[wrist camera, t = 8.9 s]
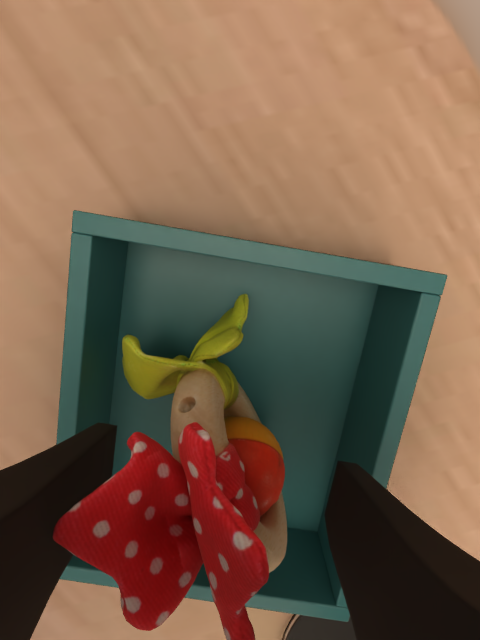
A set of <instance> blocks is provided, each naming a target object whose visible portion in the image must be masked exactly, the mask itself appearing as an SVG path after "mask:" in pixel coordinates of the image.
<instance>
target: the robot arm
mask: <svg viewBox="0 0 480 640" xmlns="http://www.w3.org/2000/svg"><path fill="white" fill-rule="evenodd" d="M116 434H117V425H111V424H105V423H96V424H94V425H92V426H90V427H89V428H87V429H85V430H83V431H81V432H79V433H78V434H76V435H74V436H72V437H70V438H68V439H66V440H65V441H63V442H61V443H59V444H57V445H55V446H53V447H51V448H49V449H47V450H45V451H43V452H41V453H39V454H37V455H35V456H33V457H30V458H28V459H26V460H24V461H22V462H20V463H17V464H15V465H13V466H10V467H8V468H5V469H3V470H0V640H30V638H31V636H32V634H33V632H34V629H35V627H36V625H37V623H38V621H39V619H40V617H41V615H42V612H43V610H44V608H45V606H46V604H47V602H48V600H49V598H50V595H51V594H52V592H53V590H54V588H55V586H56V584H57V582H58V580H59V579H60V577H61V575H62V573H63V572H64V570H65V568H66V567H67V565H68V563H69V561H70V560H71V558H72V556H73V554H72V553H71V552H69V551H68V550H67V549H66V548H64V547H63V546H61V545H60V544H58V543H57V542H55V541H54V540H53V532H54V528H55V525H56V524H57V522H58V520H59V519H60V518H61V517H62V516H63V515H64V514H65V513H66V512H68V511H69V510H70V509H71V508H72V507H73V506H74V505H75V504H77V503H78V502H79V501H81V500H82V499H83V498H85V497H86V496H88V495H89V494H91V493H92V492H93V491H95V490H96V489H97V488H98V487H99V486H101V485H102V484H103V483H105V482H106V481H107V480H108V479H110V478H111V477H112V470H113V461H114V452H115V443H116ZM324 516H325V522H326V529H327V535H328V541H329V546H330V550H331V553H332V557H333V560H334V564H335V567H336V571H337V574H338V577H339V581H340V584H341V587H342V590H343V594H344V597H345V600H346V604H347V607H348V610H349V614H350V617H351V620H352V624H353V628H354V632H355V636H356V639H357V640H480V561H478V560H477V559H475V558H474V557H472V556H471V555H469V554H468V553H466V552H465V551H463V550H462V549H460V548H459V547H458V546H456V545H455V544H453V543H452V542H450V541H449V540H448V539H446V538H445V537H443V536H442V535H441V534H439V533H438V532H437V531H435V530H434V529H433V528H431V527H430V526H429V525H428V524H426V523H425V522H424V521H423V520H422V519H420V518H419V517H418V516H417V515H415V514H414V513H413V512H412V511H411V510H409V509H408V508H407V507H406V506H405V505H403V504H402V503H401V502H400V501H399V500H398V499H397V498H396V497H394V496H393V495H392V494H391V493H390V492H389V491H388V490H387V489H385V488H384V487H383V486H382V485H381V484H380V483H379V482H378V481H377V480H376V479H374V478H373V477H372V476H371V475H370V474H369V473H368V472H366V471H365V470H364V469H363V468H362V467H360V466H359V465H358V464H356V463H351V462H345V461H338V462H337V466H336V470H335V474H334V478H333V482H332V486H331V490H330V494H329V498H328V502H327V506H326V510H325V514H324Z"/></svg>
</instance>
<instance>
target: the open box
mask: <svg viewBox="0 0 480 640" xmlns="http://www.w3.org/2000/svg"><path fill="white" fill-rule="evenodd" d="M72 232H73V233H72V236H71V250H70V264H69V278H68V291H67V305H66V319H65V333H64V346H63V360H62V374H61V388H60V401H59V415H58V429H57V443H56V445H57V444H59V443H61V442H63V441H65V440H66V439H68V438H70V437H72V436H74V435H76V434H78V433H79V432H81V431H83V430H85V429H87V428H89V427H90V426H92V425H94V424H96V423H105V424H111V425H117V434H116V443H115V452H114V461H113V470H112V476H113V475H115V474H116V473H117V472H119V471H120V470H121V469H122V468H124V466H125V465H126V464H127V463H128V462H129V461H130V459H131V450H130V449H129V447H128V445H127V440H128V438H129V437H130V436H131V435H132V434H133V433H135V432H141V433H143V434H145V435H147V436H148V437H150V438H151V439H153V440H155V441H157V442H158V443H159V444H160V445H161V446H163V447H164V448H165V449H166V450H167V451H168V452H169V453H170V454H171V455H172V456H173V453H172V446H171V409H172V401H173V397H174V393H175V392H174V393H172V394H168V395H165V396H162V397H158V398H154V399H145V398H144V397H142V396H140V395H139V394H138V393H136V392H135V391H134V390H133V389H132V388H131V386H130V385H129V383H128V381H127V379H126V377H125V375H124V369H123V363H122V359H123V351H122V339H123V337H124V336H126V335H132V336H135V337H136V338H137V339H138V340H139V342H140V348H141V350H142V352H144V353H145V354H146V355H151V356H157V357H164V358H169V359H173V358H174V357H176V356H178V355H183V356H186V357H187V358H190V356H191V353H192V351H193V349H194V348H195V346H196V344H197V343H198V341H199V340H200V339H201V337H202V336H203V335H204V334H205V333H206V332H207V331H208V330H209V329H210V328H211V327H212V326H214V325H215V324H216V323H217V322H218V321H219V320H220V318H221V317H222V316H223V315H224V314H225V313H226V312H227V311H228V310H229V309H231V308H233V307H234V304H235V302H236V300H237V299H238V297H239V296H240V295H242V294H247V295H248V299H249V305H248V314H247V319H246V320H245V322H244V324H243V327H242V331H241V332H242V333H243V339H242V341H241V343H240V344H239V345H238V346H237V347H236V348H235V349H233V350H232V351H230V352H228V353H226V354H223V355H221V356H219V357H218V358H217V360H218V361H219V362H221V363H223V364H225V365H227V366H228V367H229V368H230V370H231V371H232V373H233V374H234V376H235V377H236V380H237V381H238V383H239V384H240V386H241V387H242V388H243V390H244V391H245V393H246V395H247V396H248V398H249V400H250V401H251V403H252V405H253V407H254V409H255V411H256V413H257V415H258V417H259V419H260V421H261V423H262V424H263V425H264V426H265V427H267V428H268V429H269V430H270V431H271V433H272V434H273V435H274V437H275V438H276V440H277V441H278V443H279V445H280V448H281V451H282V454H283V462H284V466H285V478H284V484H283V488H282V495H283V500H284V505H285V511H286V519H287V546H286V553H285V556H284V559H283V560H282V562H281V563H280V564H279V566H278V567H276V568H275V569H274V570H273V571H271V572H269V578H268V581H267V583H266V584H264V585H263V586H262V587H261V588H260V590H259V591H258V592H257V593H256V594H255V595H254V596H253V597H252V598H250V599H249V600H248V602H247V603H246V604H245V607H251V608H257V609H264V610H271V611H278V612H284V613H291V614H298V615H304V616H311V617H318V618H324V619H331V620H338V621H345V622H348V621H349V617H350V614H349V610H348V607H347V604H346V600H345V597H344V594H343V590H342V587H341V584H340V581H339V577H338V574H337V571H336V567H335V564H334V560H333V557H332V553H331V550H330V546H329V541H328V535H327V529H326V522H325V516H324V514H325V510H326V506H327V502H328V498H329V494H330V490H331V486H332V482H333V478H334V474H335V470H336V466H337V462H338V461H345V462H351V463H356V464H358V465H359V466H360V467H362V468H363V469H364V470H365V471H366V472H368V473H369V474H370V475H371V476H372V477H373V478H374V479H376V480H377V481H378V482H379V483H380V484H381V485H382V486H383V487H384V488H385V489H386V488H387V484H388V481H389V477H390V474H391V470H392V467H393V463H394V460H395V456H396V453H397V449H398V446H399V442H400V439H401V435H402V432H403V428H404V425H405V421H406V418H407V414H408V410H409V407H410V403H411V400H412V396H413V393H414V389H415V386H416V382H417V379H418V375H419V372H420V368H421V365H422V361H423V358H424V354H425V351H426V347H427V344H428V340H429V337H430V333H431V330H432V326H433V323H434V319H435V316H436V312H437V309H438V305H439V302H440V298H441V297H440V296H439V295H442V293H443V289H444V286H445V282H446V279H447V275H445V274H439V273H434V272H428V271H422V270H417V269H411V268H405V267H399V266H394V265H388V264H382V263H376V262H371V261H365V260H359V259H353V258H348V257H342V256H336V255H330V254H325V253H319V252H313V251H307V250H301V249H296V248H290V247H284V246H278V245H273V244H267V243H261V242H255V241H250V240H244V239H238V238H232V237H226V236H221V235H215V234H209V233H203V232H198V231H192V230H186V229H180V228H175V227H169V226H163V225H157V224H151V223H146V222H140V221H134V220H128V219H123V218H117V217H111V216H105V215H99V214H94V213H88V212H82V211H76V210H74V211H73V220H72ZM60 579H63V580H70V581H76V582H83V583H90V584H96V585H103V586H110V587H117V588H119V586H118V584H117V582H116V581H115V580H114V579H113V577H112V576H110V575H108V574H106V573H104V572H103V571H101V570H99V569H97V568H95V567H94V566H92V565H90V564H89V563H87V562H85V561H83V560H81V559H80V558H78V557H76V556H75V555H73V556H72V558H71V560H70V561H69V563H68V565H67V567H66V568H65V570H64V572H63V573H62V575H61V577H60ZM184 598H190V599H197V600H204V601H210V602H214V599H213V596H212V593H211V588H210V583H209V580H208V577H207V573H206V570H205V566H204V563H203V564H202V566H201V568H200V570H199V572H198V574H197V577H196V579H195V581H194V583H193V584H192V586H191V587H190V589H189V591H188V592H187V594H186V596H185V597H184Z"/></svg>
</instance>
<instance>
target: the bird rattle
mask: <svg viewBox="0 0 480 640" xmlns="http://www.w3.org/2000/svg"><path fill="white" fill-rule="evenodd" d="M248 305H249V299H248V295H247V294H242V295H240V296H239V297H238V299H237V300H236V302H235V304H234V307H233V308H231V309H229V310H228V311H227V312H226V313H225V314H224V315H223V316H222V317H221V318H220V320H219V321H218V322H217V323H216V324H215V325H214V326H212V327H211V328H210V329H209V330H208V331H207V332H206V333H205V334H204V335H203V336H202V337H201V339H200V340H199V341H198V343H197V344H196V346H195V348H194V349H193V351H192V353H191V356H190V358H187V357H186V356H183V355H178V356H176V357H174V358H173V359H169V358H164V357H157V356H151V355H146V354H145V353H144V352H142V350H141V348H140V342H139V340H138V339H137V338H136V337H135V336H132V335H126V336H124V337H123V339H122V351H123V359H122V363H123V369H124V375H125V377H126V379H127V381H128V383H129V385H130V386H131V388H132V389H133V390H134V391H135V392H136V393H138V394H139V395H140V396H142V397H144V398H145V399H154V398H158V397H162V396H165V395H168V394H172V393H174V392H175V393H174V397H173V401H172V409H171V446H172V453H173V456H172V455H171V454H170V453H169V452H168V451H167V450H166V449H165V448H164V447H163V446H161V445H160V444H159V443H158V442H157V441H155V440H153V439H151V438H150V437H148V436H147V435H145V434H143V433H141V432H135V433H133V434H132V435H131V436H130V437H129V438H128V440H127V445H128V447H129V449H130V450H131V459H130V461H129V462H128V463H127V464H126V465H125V466H124V468H122V469H121V470H120V471H119V472H117V473H116V474H115V475H113V476H112V477H111V478H110V479H108V480H107V481H106V482H105V483H103V484H102V485H101V486H99V487H98V488H97V489H96V490H95V491H93V492H92V493H91V494H89V495H88V496H86V497H85V498H83V499H82V500H81V501H79V502H78V503H77V504H75V505H74V506H73V507H72V508H71V509H70V510H69V511H68V512H66V513H65V514H64V515H63V516H62V517H61V518H60V519H59V520H58V522H57V524H56V525H55V528H54V532H53V540H54V541H55V542H57V543H58V544H60V545H61V546H63V547H64V548H66V549H67V550H68V551H69V552H71V553H72V554H73V555H75V556H76V557H78V558H80V559H81V560H83V561H85V562H87V563H89V564H90V565H92V566H94V567H95V568H97V569H99V570H101V571H103V572H104V573H106V574H108V575H110V576H112V577H113V579H114V580H115V581H116V582H117V584H118V586H119V589H120V593H121V607H122V610H123V615H124V616H125V618H126V621H127V622H129V623H130V624H131V625H132V626H134V627H135V628H137V629H140V630H146V631H150V630H153V629H155V628H157V627H158V626H160V625H161V624H162V623H163V622H164V621H165V620H166V619H167V618H168V617H169V616H170V615H171V614H172V613H173V612H174V610H175V609H176V608H177V606H178V605H179V604H180V602H181V601H182V600H183V598H184V597H185V596H186V594H187V592H188V591H189V589H190V587H191V586H192V584H193V583H194V581H195V579H196V577H197V574H198V572H199V570H200V568H201V566H202V564H203V563H204V566H205V570H206V573H207V577H208V580H209V583H210V588H211V593H212V596H213V599H214V602H215V604H216V607H217V609H218V611H219V614H220V618H221V621H222V625H223V629H224V633H225V636H226V639H227V640H255V635H254V630H253V627H252V624H251V622H250V620H249V618H248V614H247V611H246V608H245V604H246V603H247V602H248V600H249V599H250V598H252V597H253V596H254V595H255V594H256V593H257V592H258V591H259V590H260V588H261V587H262V586H263V585H264V584H266V583H267V581H268V578H269V572H271V571H273V570H274V569H275V568H276V567H278V566H279V564H280V563H281V562H282V560H283V559H284V556H285V553H286V546H287V519H286V511H285V505H284V500H283V495H282V488H283V484H284V478H285V466H284V462H283V454H282V451H281V448H280V445H279V443H278V441H277V440H276V438H275V437H274V435H273V434H272V433H271V431H270V430H269V429H268V428H267V427H265V426H264V425H263V424H262V423H261V421H260V419H259V417H258V415H257V413H256V411H255V409H254V407H253V405H252V403H251V401H250V400H249V398H248V396H247V395H246V393H245V391H244V390H243V388H242V387H241V386H240V384H239V383H238V381H237V380H236V377H235V376H234V374H233V373H232V371H231V370H230V368H229V367H228V366H227V365H225V364H223V363H221V362H219V361H218V360H217V358H218V357H219V356H221V355H223V354H226V353H228V352H230V351H232V350H233V349H235V348H236V347H237V346H238V345H239V344H240V343H241V341H242V339H243V333H242V332H241V331H242V327H243V324H244V322H245V320H246V319H247V314H248Z"/></svg>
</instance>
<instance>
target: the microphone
mask: <svg viewBox="0 0 480 640" xmlns="http://www.w3.org/2000/svg"><path fill="white" fill-rule="evenodd" d="M283 640H357V639H356V636H355V632H354V628H353V624H352V620H351V617H349V621H348V622H345V621H338V620H331V619H324V618H318V617H311V616H304V615H298V614H295V615H294V616H293V618H292V619H291V621H290V623H289V625H288V627H287V629H286V631H285V634H284V637H283Z"/></svg>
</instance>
